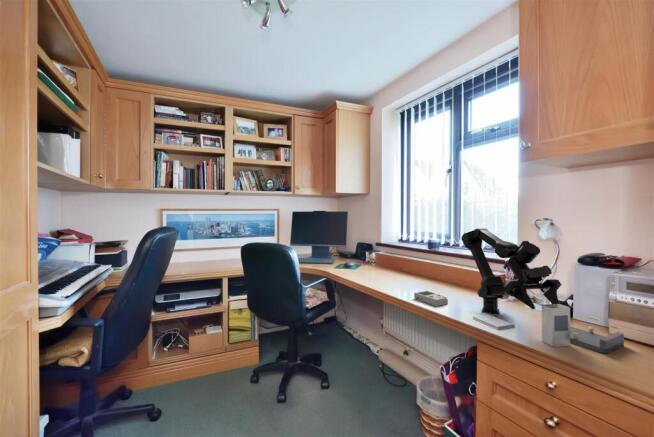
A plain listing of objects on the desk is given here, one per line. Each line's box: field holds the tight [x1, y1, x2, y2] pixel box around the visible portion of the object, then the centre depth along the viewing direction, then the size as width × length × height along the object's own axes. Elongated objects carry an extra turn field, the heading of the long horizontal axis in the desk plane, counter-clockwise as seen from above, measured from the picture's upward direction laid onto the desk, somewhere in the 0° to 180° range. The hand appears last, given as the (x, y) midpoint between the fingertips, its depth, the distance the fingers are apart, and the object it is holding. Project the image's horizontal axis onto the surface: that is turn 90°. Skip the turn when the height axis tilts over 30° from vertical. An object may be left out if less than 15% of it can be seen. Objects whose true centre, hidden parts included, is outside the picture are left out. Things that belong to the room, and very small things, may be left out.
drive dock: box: [570, 325, 625, 355], centre depth 96 cm, size 16×12×4 cm
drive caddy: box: [541, 303, 571, 347], centre depth 94 cm, size 4×6×12 cm, turn 95°
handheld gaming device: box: [413, 290, 449, 307], centre depth 143 cm, size 9×15×4 cm, turn 27°
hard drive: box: [472, 313, 516, 331], centre depth 113 cm, size 2×8×12 cm
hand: (546, 308), depth 98 cm, fingers open, 9 cm apart
